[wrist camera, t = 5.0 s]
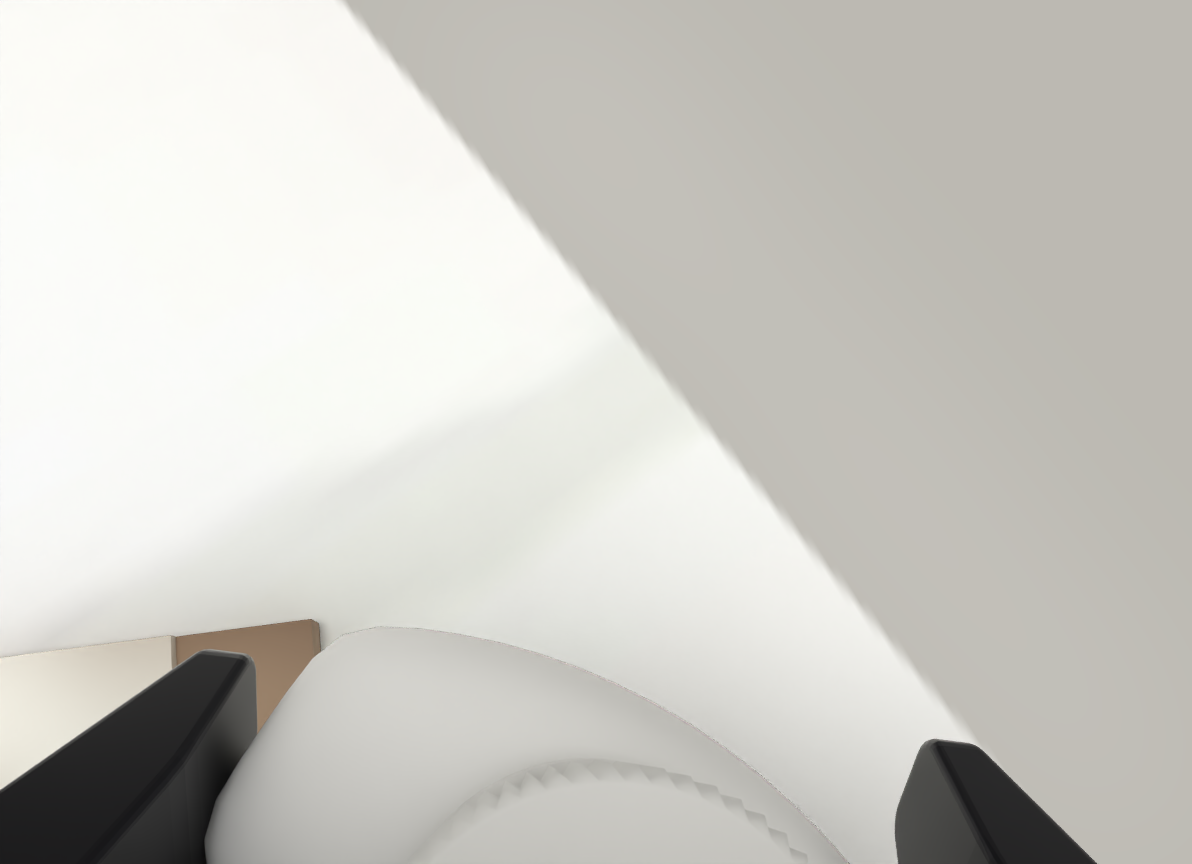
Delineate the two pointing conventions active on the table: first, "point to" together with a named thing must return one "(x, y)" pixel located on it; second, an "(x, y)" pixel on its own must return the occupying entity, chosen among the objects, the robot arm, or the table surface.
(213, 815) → the eye dropper bottle
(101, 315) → the table surface
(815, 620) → the table surface
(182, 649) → the board
